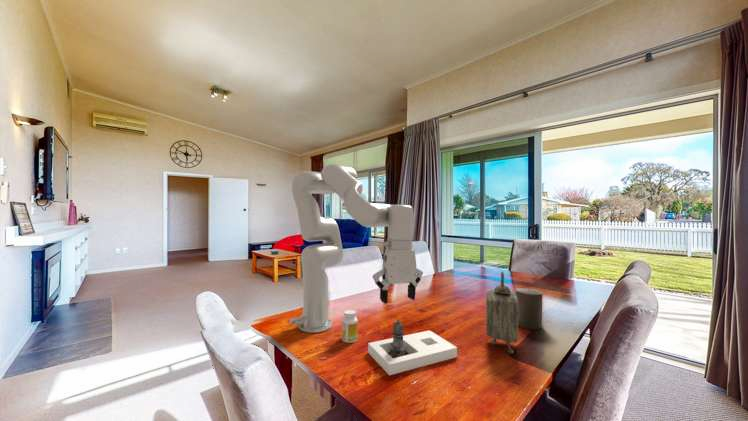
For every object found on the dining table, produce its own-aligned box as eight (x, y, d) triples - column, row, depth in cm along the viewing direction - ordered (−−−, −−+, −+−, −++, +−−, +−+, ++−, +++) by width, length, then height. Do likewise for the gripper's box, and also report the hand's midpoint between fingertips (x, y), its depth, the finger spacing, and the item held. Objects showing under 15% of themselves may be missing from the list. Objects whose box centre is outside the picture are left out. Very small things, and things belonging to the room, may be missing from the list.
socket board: (389, 375, 80) (389, 364, 80) (368, 352, 93) (368, 343, 93) (456, 357, 91) (457, 347, 91) (429, 338, 103) (429, 330, 103)
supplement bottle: (359, 337, 104) (360, 310, 103) (353, 344, 98) (354, 315, 98) (345, 335, 105) (346, 308, 105) (339, 341, 100) (339, 313, 100)
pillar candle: (536, 332, 110) (537, 292, 110) (510, 324, 118) (511, 286, 118) (545, 325, 117) (546, 288, 117) (520, 318, 124) (521, 283, 124)
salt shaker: (406, 364, 86) (407, 323, 86) (386, 361, 87) (387, 321, 87) (408, 354, 92) (408, 316, 92) (389, 352, 93) (390, 314, 93)
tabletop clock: (517, 358, 91) (518, 277, 91) (486, 352, 94) (487, 275, 94) (512, 338, 104) (513, 269, 104) (485, 334, 107) (486, 266, 107)
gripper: (380, 247, 82) (378, 308, 83) (430, 245, 90) (428, 300, 90) (368, 244, 89) (367, 299, 89) (416, 242, 97) (414, 293, 97)
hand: (397, 300), depth 90 cm, fingers open, 9 cm apart
